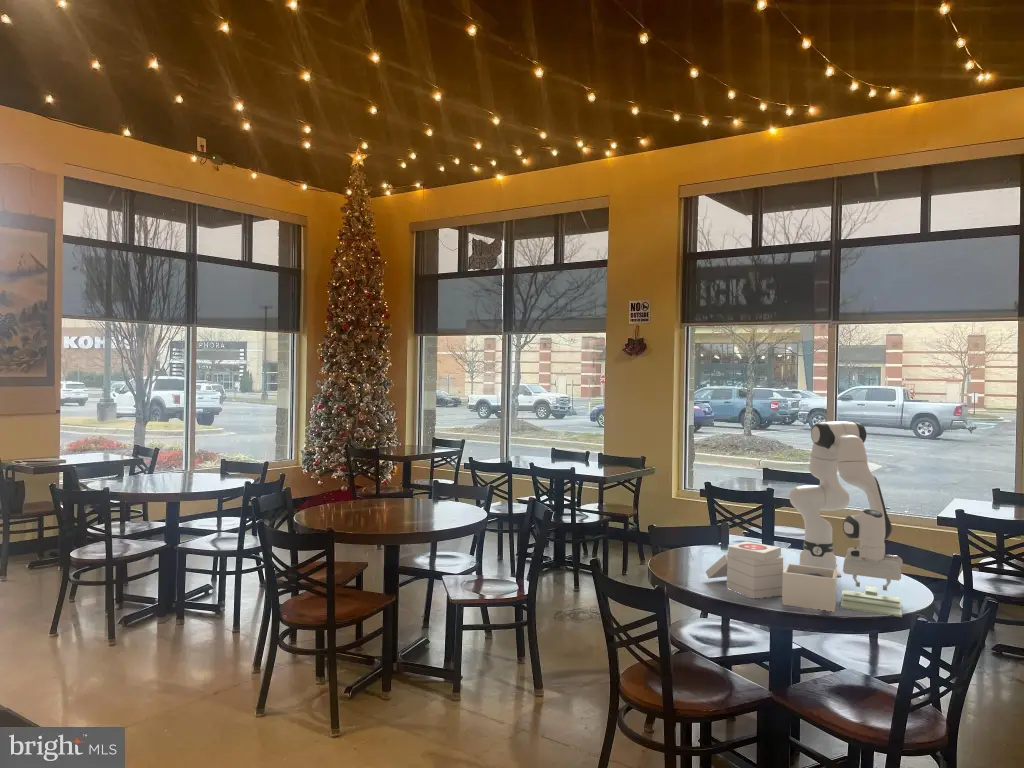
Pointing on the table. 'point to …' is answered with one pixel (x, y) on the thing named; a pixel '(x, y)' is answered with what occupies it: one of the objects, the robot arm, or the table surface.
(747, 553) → the pizza boxes
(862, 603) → the lid
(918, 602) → the table surface
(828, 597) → the tub
